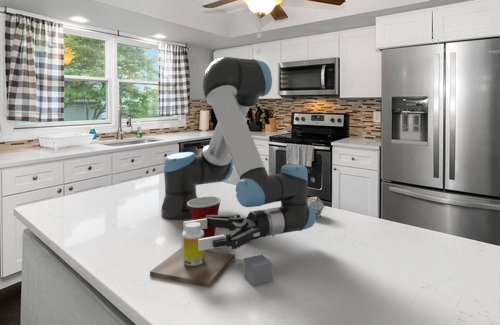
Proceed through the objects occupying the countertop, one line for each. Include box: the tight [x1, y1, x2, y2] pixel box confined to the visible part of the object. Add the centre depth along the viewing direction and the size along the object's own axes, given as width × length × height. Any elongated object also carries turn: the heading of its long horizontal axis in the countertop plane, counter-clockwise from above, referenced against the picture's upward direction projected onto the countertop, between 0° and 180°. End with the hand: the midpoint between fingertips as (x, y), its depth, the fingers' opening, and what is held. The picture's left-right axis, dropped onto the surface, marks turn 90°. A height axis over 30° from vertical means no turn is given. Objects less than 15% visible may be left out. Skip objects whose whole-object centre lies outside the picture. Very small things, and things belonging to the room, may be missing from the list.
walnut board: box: [149, 247, 236, 288], centre depth 88 cm, size 16×16×1 cm
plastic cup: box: [187, 195, 222, 238], centre depth 108 cm, size 11×11×12 cm
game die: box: [307, 194, 327, 218], centre depth 128 cm, size 9×8×10 cm
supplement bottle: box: [181, 222, 205, 266], centre depth 87 cm, size 6×6×10 cm
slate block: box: [243, 254, 273, 288], centre depth 81 cm, size 5×5×5 cm
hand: (190, 235), depth 86 cm, fingers open, 13 cm apart
